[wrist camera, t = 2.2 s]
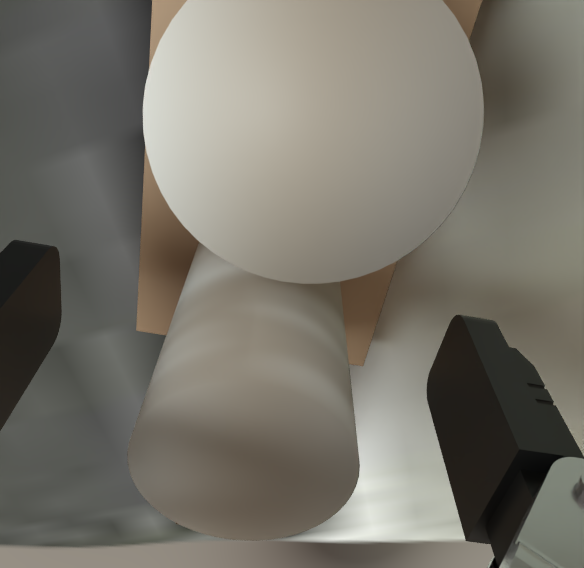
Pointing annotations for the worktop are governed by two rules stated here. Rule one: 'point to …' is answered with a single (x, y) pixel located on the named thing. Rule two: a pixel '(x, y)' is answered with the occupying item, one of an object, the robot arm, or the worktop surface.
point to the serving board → (284, 237)
